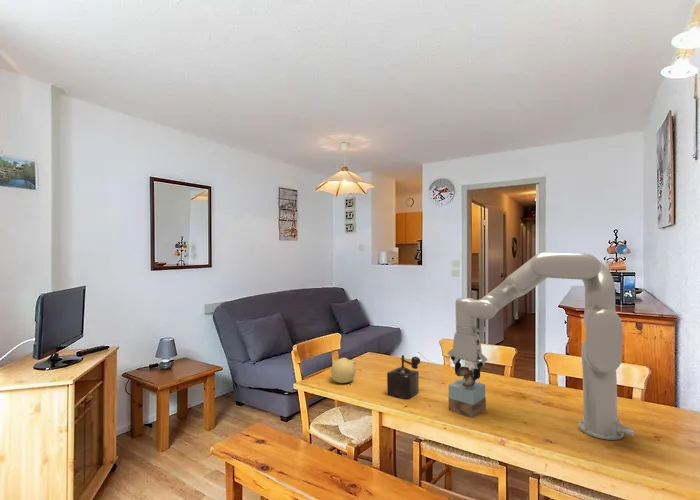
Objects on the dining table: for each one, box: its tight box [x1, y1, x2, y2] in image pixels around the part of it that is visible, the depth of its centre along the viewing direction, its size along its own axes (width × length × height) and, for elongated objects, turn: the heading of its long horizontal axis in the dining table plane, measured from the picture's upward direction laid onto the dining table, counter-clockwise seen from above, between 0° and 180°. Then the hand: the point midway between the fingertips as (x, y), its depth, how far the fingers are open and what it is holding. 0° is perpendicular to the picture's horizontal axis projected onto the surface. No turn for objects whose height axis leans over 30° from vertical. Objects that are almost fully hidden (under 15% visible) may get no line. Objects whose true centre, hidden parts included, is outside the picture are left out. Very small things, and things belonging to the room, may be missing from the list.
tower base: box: [448, 396, 487, 419], centre depth 146 cm, size 10×10×5 cm
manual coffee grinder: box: [386, 354, 421, 400], centre depth 163 cm, size 16×11×18 cm
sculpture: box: [330, 357, 356, 384], centre depth 182 cm, size 11×12×11 cm
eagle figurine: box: [455, 366, 476, 387], centre depth 144 cm, size 8×7×9 cm
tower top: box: [448, 378, 486, 405], centre depth 146 cm, size 10×10×5 cm
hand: (467, 376), depth 146 cm, fingers closed on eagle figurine, 7 cm apart
